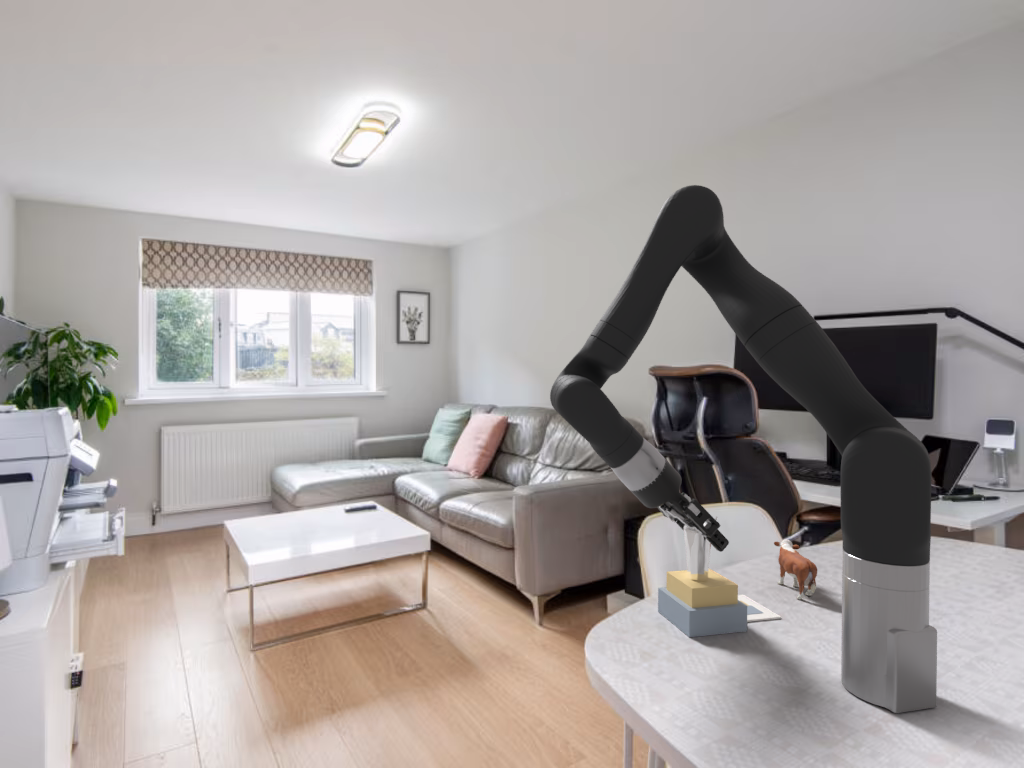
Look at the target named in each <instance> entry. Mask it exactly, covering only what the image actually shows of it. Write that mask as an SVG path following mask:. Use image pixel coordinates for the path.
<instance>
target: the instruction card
mask: <svg viewBox="0 0 1024 768" xmlns="http://www.w3.org/2000/svg"><path fill="white" fill-rule="evenodd" d="M738 600H739V601H741V602H742V603H744V604H745V605H747V623H751V622H760V621H770V620H781V619H782V616H781V615H779V614H777V613H776V612H773V611H772V610H770V609H769V608H767V607H765V606H764V605H762V604H761V603H759V602H757V601H755V600H753V599H752V598H750V597H748V596H747V595H745V594H738Z"/></svg>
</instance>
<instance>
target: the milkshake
mask: <svg viewBox="0 0 1024 768" xmlns="http://www.w3.org/2000/svg"><path fill="white" fill-rule="evenodd" d="M714 519H715V520H716V521H717V519H718V516H715V518H714ZM706 524H707V522H705V523H704V524H703V526H704V527H705V525H706ZM683 528H684V531H683V535H684V536H683V537H684V538H683V539H684V547H685V558H686V559H685V561H686V570H687V577H688V578H689V579H691V580H695V581H705V580H708V571H709V568H710V557H711V548H712V544H711V543H710V542H709V541H708V540H707V539H706V538H705V537H703V536H702V535H701V534H700V533H699V532H698V531H697V530H696V529H694V528H693V529H690V528H688V527H687V526H686V525H684V527H683Z"/></svg>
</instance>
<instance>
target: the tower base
mask: <svg viewBox="0 0 1024 768" xmlns="http://www.w3.org/2000/svg"><path fill="white" fill-rule="evenodd" d="M738 595H739V584H738V583H736V582H734V581H732V580H730V579H729V578H727V577H725V576H724V575H721V574H720V573H718V572H716V571H715V570H713V569H711V568H710V567H709V571H708V580H705V581H695V580H691V579H689V578H688V577H687V569H685V570H683V569H682V570H672V571H671V570H669V571H666V586H665V587H664V586H662V587H658V588H657V612H658V613H660V615H661V616H663V617H665V619H666V620H667V621H669V622H670V623H671V624H672V625H674V626H675V627H676V628H677V629H679V630H680V631H681V632H682V633H683V634H685V635H686V636H687V637H688V638H694V637H704V636H713V635H715V636H716V635H722V634H732V633H733V634H734V633H743V632H748V622H747V605H745V604H744V603H742V602H741V601H739V600H738Z"/></svg>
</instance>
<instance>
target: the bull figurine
mask: <svg viewBox="0 0 1024 768" xmlns="http://www.w3.org/2000/svg"><path fill="white" fill-rule="evenodd" d="M773 544H774V546H775V547H780V548H779V554H778V555H779V556H778V558H777V559H778V565H779V570H780V571H779V577H780V578H779V580H778V582H777V585H782V586H783V585H784V582H785V581H784V579H785V576H786V573H787V575H789V576H790V577H792V578H793V582H792V587H793V588H799V589H798V590H799V593H798V595H797V597H796V599H797V600H799V601H802V600H803V599H804V595H805V596H808V597H809V596H810V597H811V596H813V594H815V592H816V589H817V582H816V579H817V576H818V566H817V565H816V564H815V563H814V562H812V561H811V560H810V559H809V558H807V557H805V556H803V554H800V553H799V551H797V550H799V549H800V546H799V545H798V544H793V541H791V540H789V539H786V538H785V539H783V540H782V541H781V542H780V541H774V542H773ZM805 587H807V590H806V591H805V593H804V590H805Z"/></svg>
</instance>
